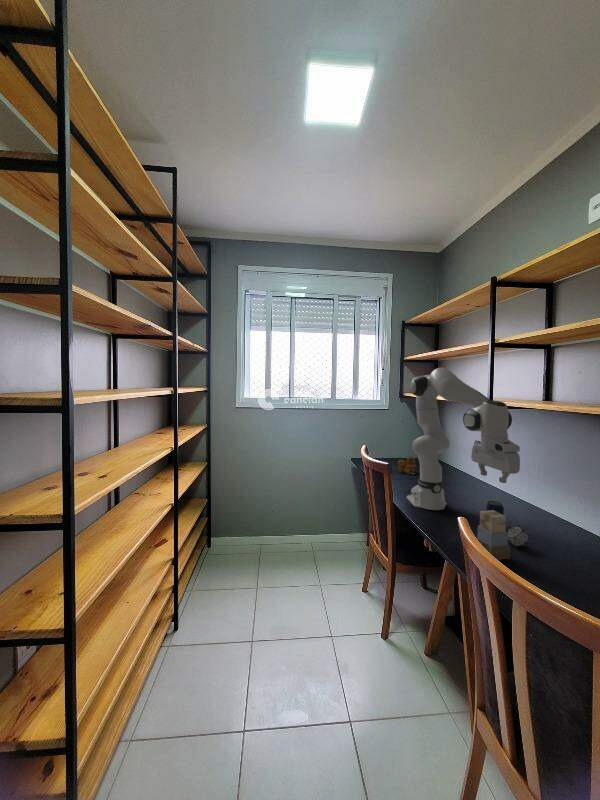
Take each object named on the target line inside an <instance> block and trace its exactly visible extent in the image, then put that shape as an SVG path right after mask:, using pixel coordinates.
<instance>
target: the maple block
mask: <svg viewBox="0 0 600 800" xmlns="http://www.w3.org/2000/svg"><path fill="white" fill-rule="evenodd" d="M506 518H507V516H506V515H505V514H504V515H502V514H500V513H498V512H496V511H494V510H488V511H486V510H480V511H479V526H480V527H482V528H484V529H485V530H487V531H489V532H490V533H499V532H507V530H506V529H507V528H506V526H507V522H506V521H507V519H506Z"/></svg>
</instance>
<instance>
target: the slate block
mask: <svg viewBox="0 0 600 800" xmlns="http://www.w3.org/2000/svg"><path fill="white" fill-rule="evenodd" d="M477 538H478V539H479V540H481V541H482V542H484V543H486V544H487V545H489V546H490V547H498V546H508V545H509V544H508V541H509V540H508V532H507V531H506V532H499V533H490V532H489V531H487V530H485V529H484V528H482V527H480V525H477Z"/></svg>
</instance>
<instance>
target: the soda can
mask: <svg viewBox="0 0 600 800" xmlns="http://www.w3.org/2000/svg"><path fill="white" fill-rule="evenodd" d="M504 509H505V508H504V506H503V503H501V502H500V501H497V500H496V501H495V500H488V501H487V503H486V504H485V511H488V510H494V511H496V512H498V513H500V514H502V515H504V516H505V513H504V511H505V510H504Z"/></svg>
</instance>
